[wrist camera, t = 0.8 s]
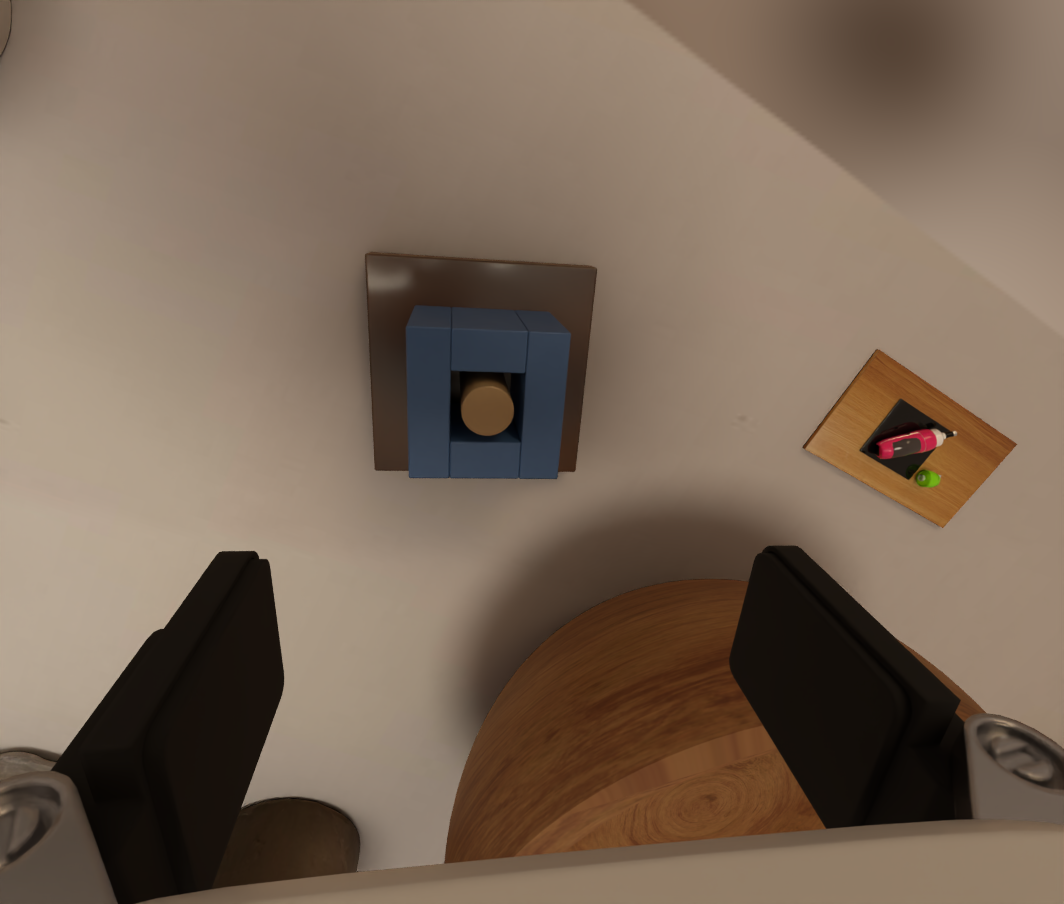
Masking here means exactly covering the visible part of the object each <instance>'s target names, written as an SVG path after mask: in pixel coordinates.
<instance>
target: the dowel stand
mask: <svg viewBox="0 0 1064 904" xmlns="http://www.w3.org/2000/svg"><path fill="white" fill-rule="evenodd" d="M365 266H366V288H367V310H368V331H369V353H370V375H371V397H372V419H373V441H374V463H375V470H384V471H409V469H408V418H407V368H406V326H407V323H408V321H409V318H410V316H411V314H412V311H413V309H414V306H415V305H421V306H441V307H451V308H452V307H462V308H482V309H502V310H514V311H515V310H523V311H543V312H550V313H551V314H552V315H553V316H554V317H555V318H556V319H557V320H558V321H559V322H560V323H561V324H562V325H563V326H564V327H565V328H566V329H567V330H568V331H569V332H570V333H571V340H570V351H569V361H568V372H567V382H566V393H565V403H564V414H563V424H562V435H561V446H560V456H559V467H558V472H574V471H575V469H576V460H577V451H578V442H579V432H580V423H581V414H582V404H583V395H584V386H585V377H586V367H587V358H588V349H589V340H590V330H591V321H592V312H593V302H594V293H595V284H596V275H597V268H595V267H592V266H587V265H571V264H555V263H539V262H523V261H507V260H491V259H475V258H460V257H444V256H428V255H412V254H396V253H380V252H369V253H367V254H365ZM510 387H511V373H499V372H468V371H452V370H451V390H450V404H451V403H461V415H462V419H463V421H464V423H465V425H466V426H467V427H468V428H469V429H470V430H471V431H473V432H474V433H476V434H479V435H483V436H491V435H496V434H498V433H500V432H502V431H504V430H505V429H506V428H507V427H508V426H509V425H510V423H511V421H512V419H513V416H514V405H513V401H512V398H511V395H510Z"/></svg>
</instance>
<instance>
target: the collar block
mask: <svg viewBox="0 0 1064 904" xmlns="http://www.w3.org/2000/svg"><path fill="white" fill-rule="evenodd" d="M570 340H571V333H570V332H569V331H568V330H567V329H566V328H565V327H564V326H563V325H562V324H561V323H560V322H559V321H558V320H557V319H556V318H555V317H554V316H553V315H552V314H551V313H550V312H543V311H523V310H515V311H514V310H502V309H482V308H462V307H452V308H451V307H441V306H421V305H415V306H414V309H413V311H412V314H411V316H410V318H409V321H408V323H407V326H406V368H407V418H408V469H409V478H449V476H450V478H511V479H517V478H520V479H557V477H558V467H559V456H560V446H561V435H562V424H563V414H564V403H565V393H566V382H567V372H568V361H569V351H570ZM451 370H452V371H468V372H499V373H511V387H510V395H511V398H512V401H513V405H514V416H513V419H512V421H511V423H510V425H509V426H508V427H507V428H506V429H505V430H504V431H502V432H500V433H498V434H496V435H491V436H483V435H479V434H476V433H474V432H473V431H471V430H470V429H469V428H468V427H467V426H466V425H465V423H464V421H463V419H462V415H461V403H451V404H450V390H451Z"/></svg>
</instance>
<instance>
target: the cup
mask: <svg viewBox="0 0 1064 904" xmlns="http://www.w3.org/2000/svg"><path fill="white" fill-rule="evenodd" d="M10 26H11V3H10V0H0V55H1V54H2V52H3V50H4V48H5V45H6V43H7V40H8V36H9V32H10Z"/></svg>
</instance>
